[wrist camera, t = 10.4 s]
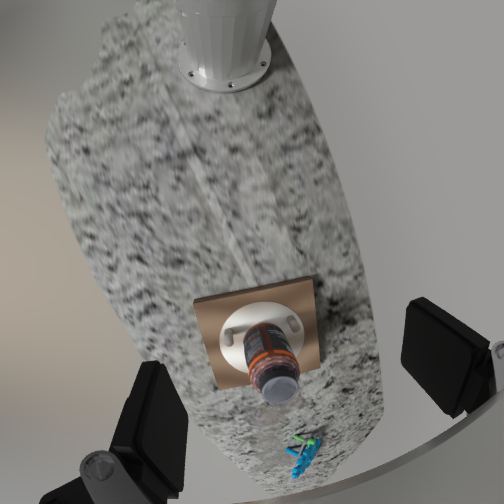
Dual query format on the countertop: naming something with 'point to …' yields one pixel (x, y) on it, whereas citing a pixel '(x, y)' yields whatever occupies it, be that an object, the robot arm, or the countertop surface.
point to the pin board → (250, 314)
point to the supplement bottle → (271, 363)
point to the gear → (304, 454)
